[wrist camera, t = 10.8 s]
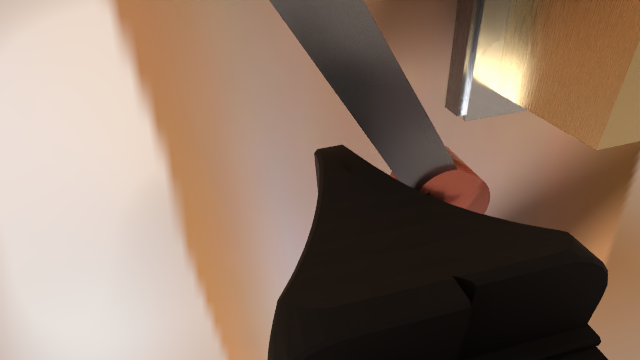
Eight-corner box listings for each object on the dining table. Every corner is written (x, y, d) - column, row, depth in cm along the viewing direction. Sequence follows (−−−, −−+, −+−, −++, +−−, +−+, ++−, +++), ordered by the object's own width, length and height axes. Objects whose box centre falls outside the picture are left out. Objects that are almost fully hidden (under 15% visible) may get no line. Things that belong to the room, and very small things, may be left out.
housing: (582, 75, 16) (717, 129, 11) (494, 90, 15) (602, 153, 11) (617, -35, 13) (803, -19, 9) (516, -21, 13) (662, 3, 8)
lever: (476, 169, 12) (512, 202, 10) (398, 220, 12) (422, 259, 11) (165, -435, 5) (141, -592, 3) (15, -259, 5) (-62, -329, 4)
